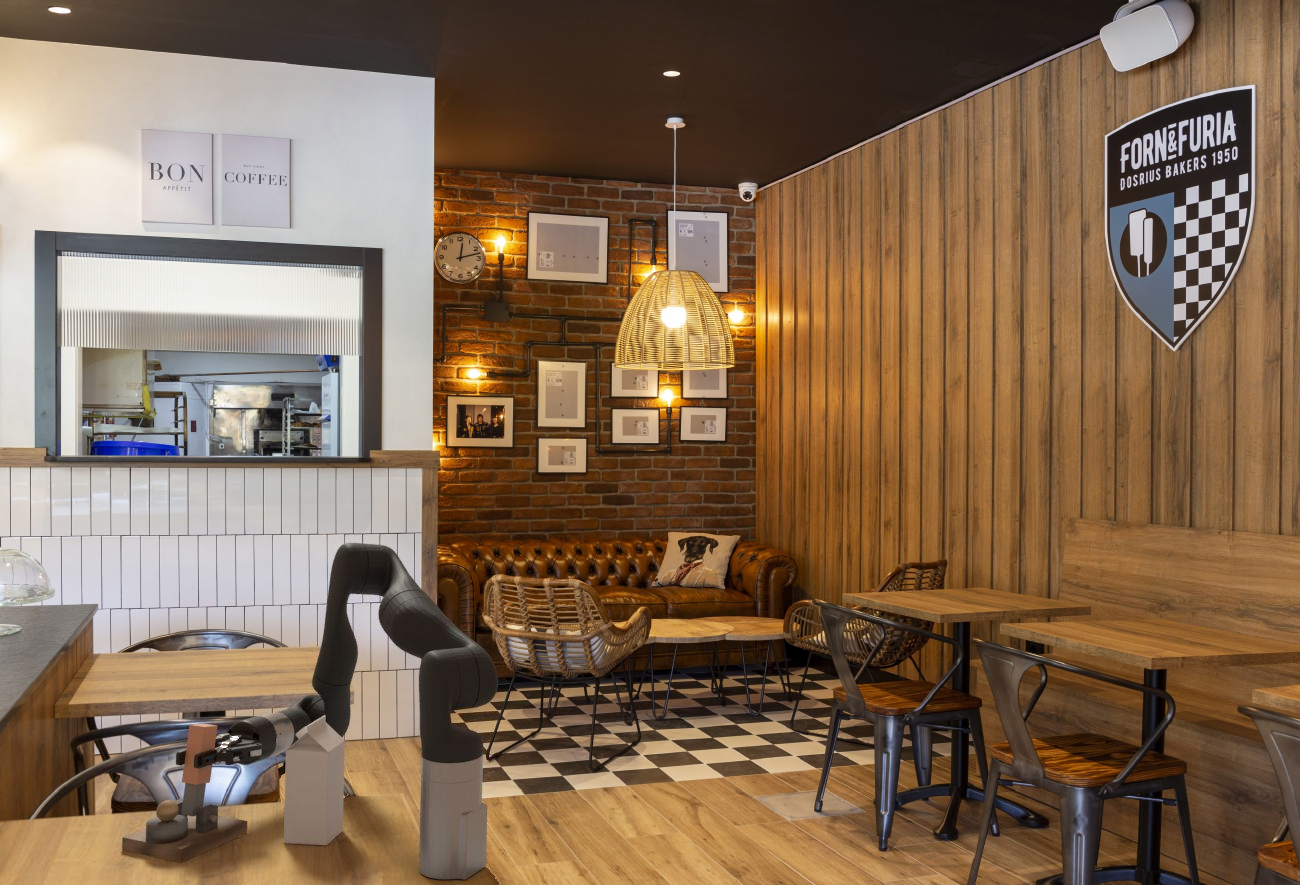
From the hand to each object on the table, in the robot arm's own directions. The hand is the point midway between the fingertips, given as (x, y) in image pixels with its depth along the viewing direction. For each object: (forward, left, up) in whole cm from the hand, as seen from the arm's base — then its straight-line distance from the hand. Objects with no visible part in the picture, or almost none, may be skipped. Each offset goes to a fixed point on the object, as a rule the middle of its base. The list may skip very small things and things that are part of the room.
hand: (187, 760), depth 174 cm
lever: (0, -1, -9) cm, 9 cm away
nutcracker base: (0, 0, -13) cm, 13 cm away
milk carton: (-17, -10, -13) cm, 24 cm away
